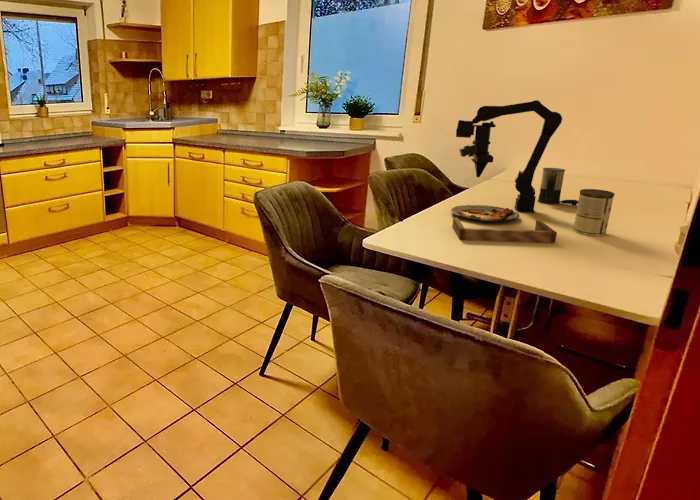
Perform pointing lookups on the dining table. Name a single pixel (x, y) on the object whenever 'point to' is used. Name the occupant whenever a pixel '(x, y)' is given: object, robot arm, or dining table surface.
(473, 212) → the food plate
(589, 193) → the coffee can
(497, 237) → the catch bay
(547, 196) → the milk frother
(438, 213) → the dining table surface
